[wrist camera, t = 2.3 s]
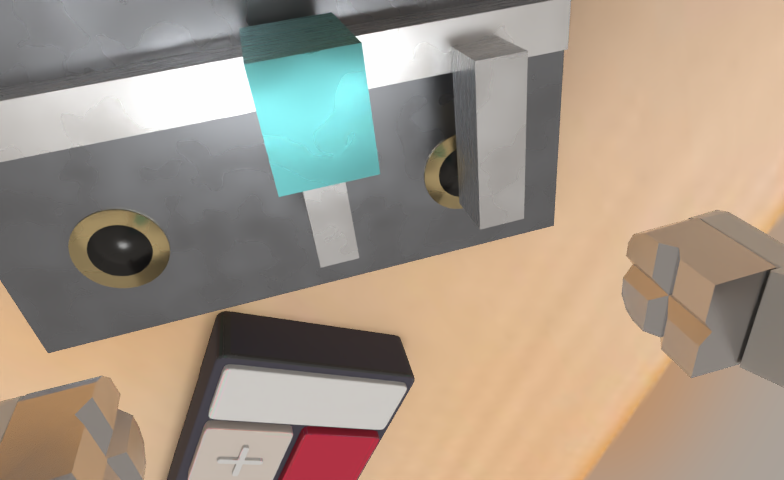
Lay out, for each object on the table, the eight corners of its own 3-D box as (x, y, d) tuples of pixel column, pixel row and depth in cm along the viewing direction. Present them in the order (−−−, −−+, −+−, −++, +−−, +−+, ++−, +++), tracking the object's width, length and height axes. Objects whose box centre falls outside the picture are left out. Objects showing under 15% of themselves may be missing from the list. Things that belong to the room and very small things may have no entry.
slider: (323, 3, 20) (361, 42, 15) (358, 209, 25) (397, 297, 20) (237, 18, 20) (243, 64, 14) (291, 224, 25) (310, 319, 19)
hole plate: (554, -127, 22) (648, -135, 17) (540, 212, 31) (599, 270, 26) (-165, -23, 18) (-308, 5, 13) (56, 332, 27) (19, 427, 22)
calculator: (156, 546, 32) (216, 367, 25) (163, 480, 35) (218, 307, 29) (331, 541, 36) (422, 387, 30) (322, 483, 40) (402, 333, 33)
